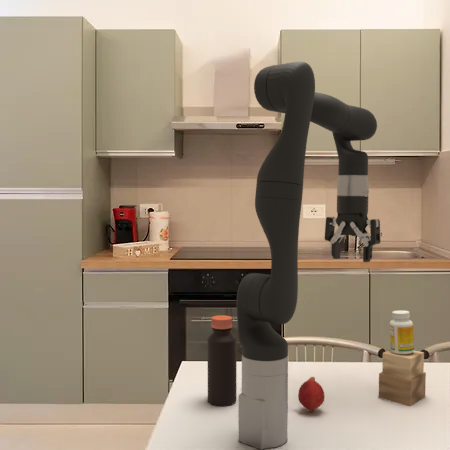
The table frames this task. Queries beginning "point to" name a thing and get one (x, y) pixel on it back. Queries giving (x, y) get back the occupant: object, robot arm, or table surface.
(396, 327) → the supplement bottle
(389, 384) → the tower base
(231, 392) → the vinegar
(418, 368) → the tower top
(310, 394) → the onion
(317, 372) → the table surface
